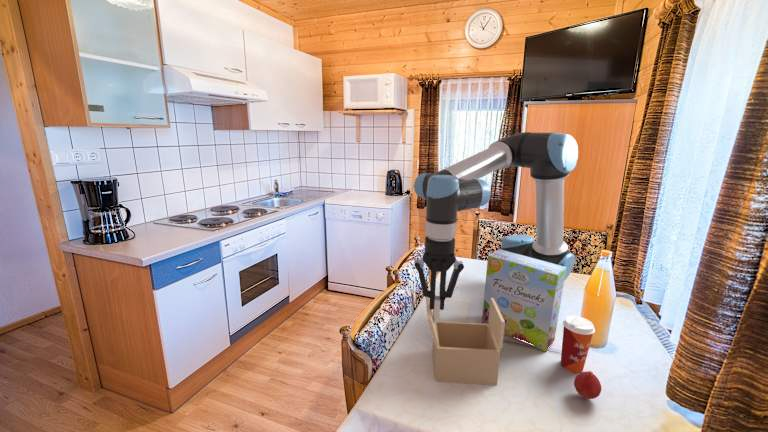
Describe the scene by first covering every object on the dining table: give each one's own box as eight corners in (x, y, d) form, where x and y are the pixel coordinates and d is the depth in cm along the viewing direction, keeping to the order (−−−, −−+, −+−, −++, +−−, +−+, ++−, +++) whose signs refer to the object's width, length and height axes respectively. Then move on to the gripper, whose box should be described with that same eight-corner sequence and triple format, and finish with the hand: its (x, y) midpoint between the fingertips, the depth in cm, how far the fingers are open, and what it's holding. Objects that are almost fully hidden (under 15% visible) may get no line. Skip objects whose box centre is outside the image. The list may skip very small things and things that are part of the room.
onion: (567, 389, 89) (571, 363, 87) (588, 388, 90) (593, 362, 88) (581, 407, 84) (586, 379, 82) (603, 406, 84) (609, 378, 82)
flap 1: (428, 295, 99) (425, 296, 100) (430, 319, 87) (427, 319, 88) (434, 318, 101) (432, 319, 101) (438, 344, 89) (435, 345, 89)
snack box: (479, 325, 117) (486, 254, 111) (491, 315, 124) (498, 247, 117) (546, 354, 103) (558, 274, 97) (556, 341, 109) (568, 265, 103)
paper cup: (575, 379, 93) (584, 333, 89) (550, 362, 100) (557, 318, 96) (593, 370, 97) (602, 325, 93) (568, 354, 103) (575, 312, 100)
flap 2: (488, 321, 100) (491, 321, 100) (498, 348, 88) (502, 348, 88) (490, 297, 98) (493, 297, 98) (501, 321, 86) (505, 321, 86)
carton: (486, 353, 103) (489, 323, 101) (496, 385, 91) (500, 352, 88) (432, 350, 104) (433, 320, 102) (434, 381, 92) (436, 348, 89)
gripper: (463, 232, 91) (458, 313, 97) (414, 231, 92) (411, 311, 98) (468, 242, 84) (462, 328, 90) (414, 240, 85) (412, 326, 91)
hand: (436, 319), depth 94 cm, fingers closed
